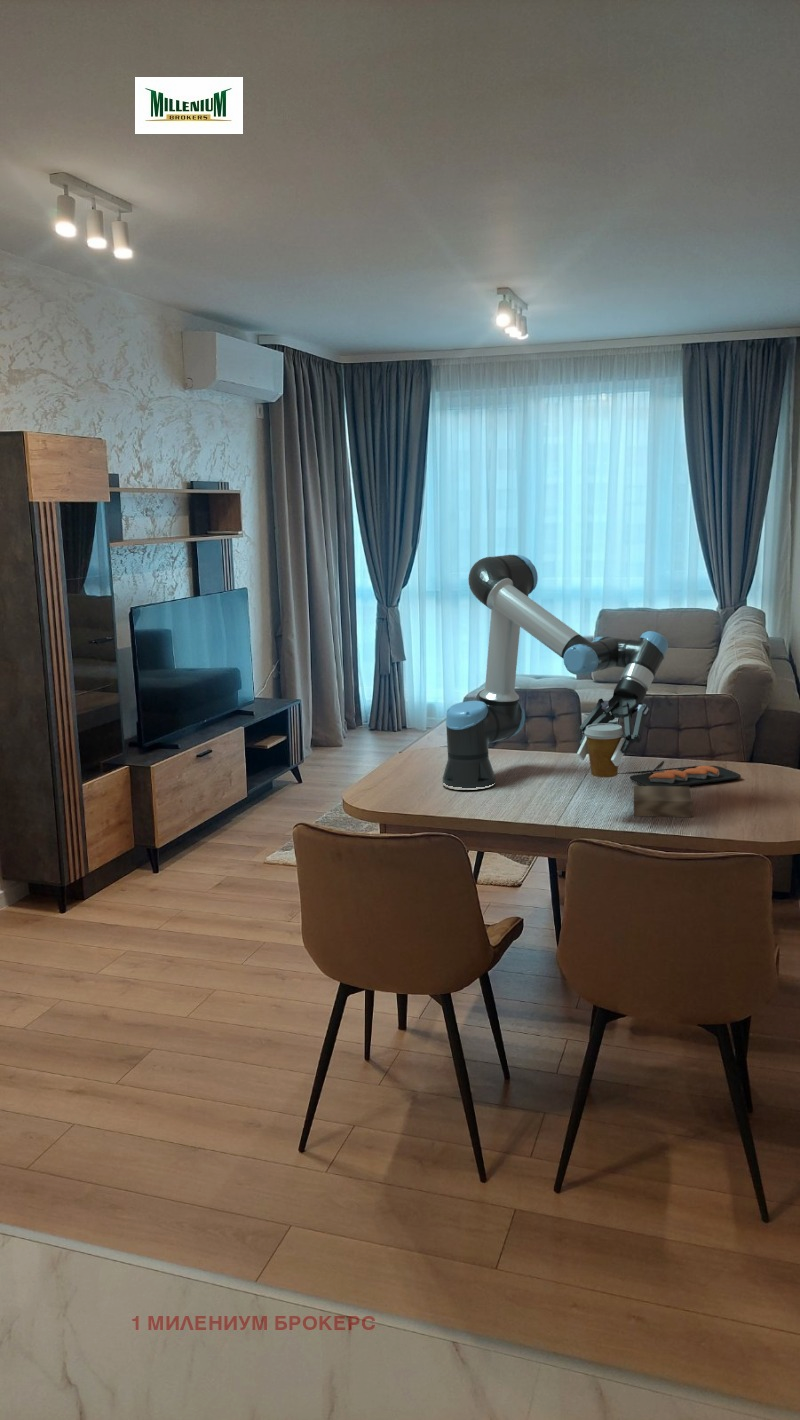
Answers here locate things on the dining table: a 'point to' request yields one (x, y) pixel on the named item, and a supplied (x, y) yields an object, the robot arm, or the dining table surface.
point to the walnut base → (662, 801)
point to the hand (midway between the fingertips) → (597, 759)
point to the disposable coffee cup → (603, 748)
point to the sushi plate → (683, 776)
